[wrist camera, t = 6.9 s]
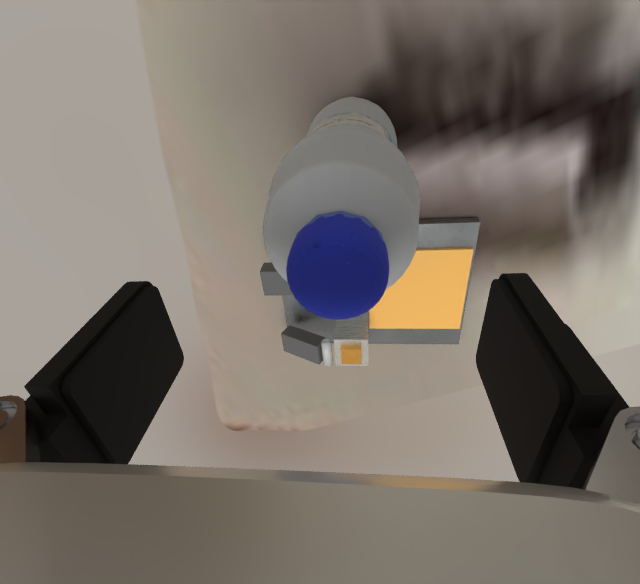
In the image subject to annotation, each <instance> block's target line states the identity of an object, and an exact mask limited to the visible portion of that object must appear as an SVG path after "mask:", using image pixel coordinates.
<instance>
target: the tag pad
mask: <svg viewBox="0 0 640 584" xmlns="http://www.w3.org/2000/svg"><path fill="white" fill-rule="evenodd" d="M473 250H474V249H473V248H438V249H416V252H415V254H414V257H413V259H412V261H411V263H410V265H409V267H408V268H407V270H406V271H405V273H404V274H403V276H402V277H401V278H400V279H399V280H397V281H396V282H395V283H394V284H393V285H392V286H391V287H389V288H388V289H386V290H385V292H384V294H383V296H382V298H381V299H380V301H379V302H378V303H377V304H376V305H375V306H374V307H373V308H371V309H370V310H369V329H460V324H461V318H462V312H463V307H464V301H465V295H466V290H467V284H468V278H469V273H470V267H471V261H472V255H473Z"/></svg>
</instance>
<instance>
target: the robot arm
mask: <svg viewBox="0 0 640 584" xmlns="http://www.w3.org/2000/svg"><path fill="white" fill-rule="evenodd" d="M183 360H184V356H183V352H182V349H181V347H180V344H179V342H178V339H177V337H176V334H175V331H174V329H173V326H172V324H171V321H170V319H169V316H168V313H167V311H166V308H165V305H164V303H163V300H162V298H161V295H160V292H159V290H158V288H157V287H155V286H153V285H152V284H151V283H150V282H148V281H142V282H141V281H139V282H127V283H126V284H124V285H123V286H122V287H121V289H119V290H118V291H117V293H115V294H114V296H113V297H112V298H111V299H110V300H109V301H108V302H107V303H106V304H105V305H104V306H103V307H102V308H101V309H100V310H99V311H98V312H97V313H96V314H95V315H94V316H93V317H92V318H91V319H90V320H89V321H88V322H87V323H86V324H85V325H84V326H83V327H82V328H81V329H80V331H78V332H77V333H76V334H75V335H74V337H72V338H71V339H70V340H69V341H68V342H67V344H65V346H63V348H62V349H61V350H60V351H59V352H58V353H57V354H56V355H55V356H54V357H53V358H52V359H51V360H50V361H49V362H48V363H47V364H46V365H45V366H44V367H43V368H42V369H41V370H40V371H39V372H38V373H37V374H36V375H35V376H34V377H33V378H32V379H31V380H30V381H29V382H28V383H27V384H26V385H25V386H24V387H25V388H26V390H27V391H28V392H29V394H30V397H29V398H28V399H27V400H26V401H24V399H22V398H20V397H19V396H12V395H9V396H2V397H0V584H640V407H629V406H628V405H627V404H626V402H625V401H624V399H623V398H622V397H621V395H620V394H619V393H618V391H617V390H616V389H615V387H614V386H613V385H612V383H611V382H610V381H609V379H608V378H607V377H606V375H605V374H604V373H603V371H602V370H601V369H600V367H599V366H598V365H597V364H596V362H595V361H594V359H593V358H592V357H591V355H590V354H589V353H588V351H587V350H586V349H585V347H584V346H583V345H582V343H581V342H580V341H579V339H578V338H577V337H576V335H575V334H574V333H573V331H572V330H571V329H570V328H569V327H568V326H567V325H566V324H564V323H563V321H562V320H561V319H560V317H559V316H558V314H557V313H556V312H555V310H554V309H553V308H552V306H551V305H550V304H549V302H548V301H547V300H546V298H545V297H544V296H543V294H542V293H541V291H540V290H539V289H538V287H537V286H536V285H535V283H534V282H533V281H532V279H531V278H530V277H529V275H528V274H526V273H511V274H501V276H500V277H499V279H494V280H493V281H492V284H491V288H490V293H489V297H488V302H487V307H486V311H485V316H484V321H483V326H482V330H481V335H480V340H479V344H478V349H477V354H476V364H477V368H478V371H479V374H480V377H481V379H482V382H483V385H484V387H485V390H486V393H487V396H488V398H489V401H490V404H491V406H492V409H493V412H494V415H495V417H496V420H497V422H498V425H499V428H500V431H501V434H502V436H503V439H504V441H505V444H506V447H507V450H508V453H509V455H510V458H511V461H512V463H513V466H514V469H515V471H516V474H517V477H518V479H519V481H520V482H508V481H492V480H475V479H460V478H442V477H422V476H421V477H419V476H399V475H378V474H377V475H376V474H355V473H334V472H311V471H286V470H263V469H237V468H213V467H186V466H157V465H128V463H129V461H130V460H131V458H132V456H133V454H134V452H135V450H136V449H137V447H138V445H139V443H140V441H141V440H142V438H143V436H144V434H145V432H146V431H147V429H148V427H149V425H150V423H151V421H152V420H153V418H154V416H155V414H156V412H157V410H158V409H159V407H160V405H161V403H162V401H163V400H164V398H165V396H166V394H167V392H168V391H169V389H170V387H171V385H172V383H173V382H174V380H175V378H176V376H177V374H178V372H179V371H180V369H181V367H182V365H183Z"/></svg>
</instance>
